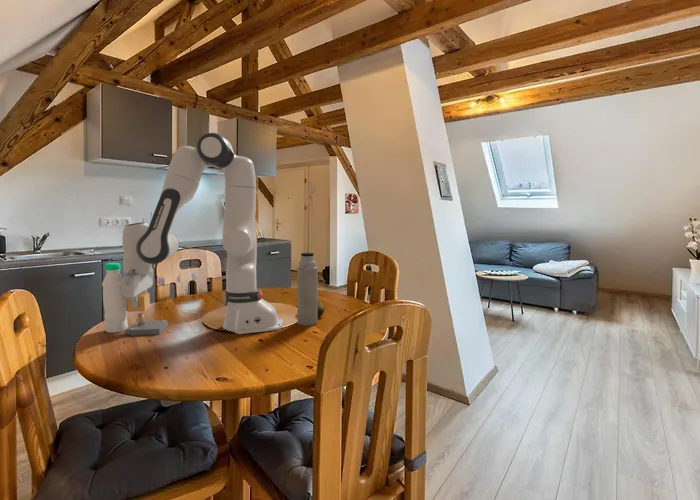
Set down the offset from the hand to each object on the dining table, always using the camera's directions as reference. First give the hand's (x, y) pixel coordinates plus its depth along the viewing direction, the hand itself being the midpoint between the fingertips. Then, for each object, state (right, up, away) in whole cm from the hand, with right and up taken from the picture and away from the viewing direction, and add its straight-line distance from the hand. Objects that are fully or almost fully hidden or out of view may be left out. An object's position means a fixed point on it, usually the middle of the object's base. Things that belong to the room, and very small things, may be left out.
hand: (139, 304), depth 137 cm
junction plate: (+3, -10, +1) cm, 10 cm away
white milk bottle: (-8, -10, 0) cm, 13 cm away
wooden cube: (0, -2, 0) cm, 2 cm away
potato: (+62, -8, +23) cm, 66 cm away
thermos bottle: (+60, -9, +12) cm, 62 cm away
